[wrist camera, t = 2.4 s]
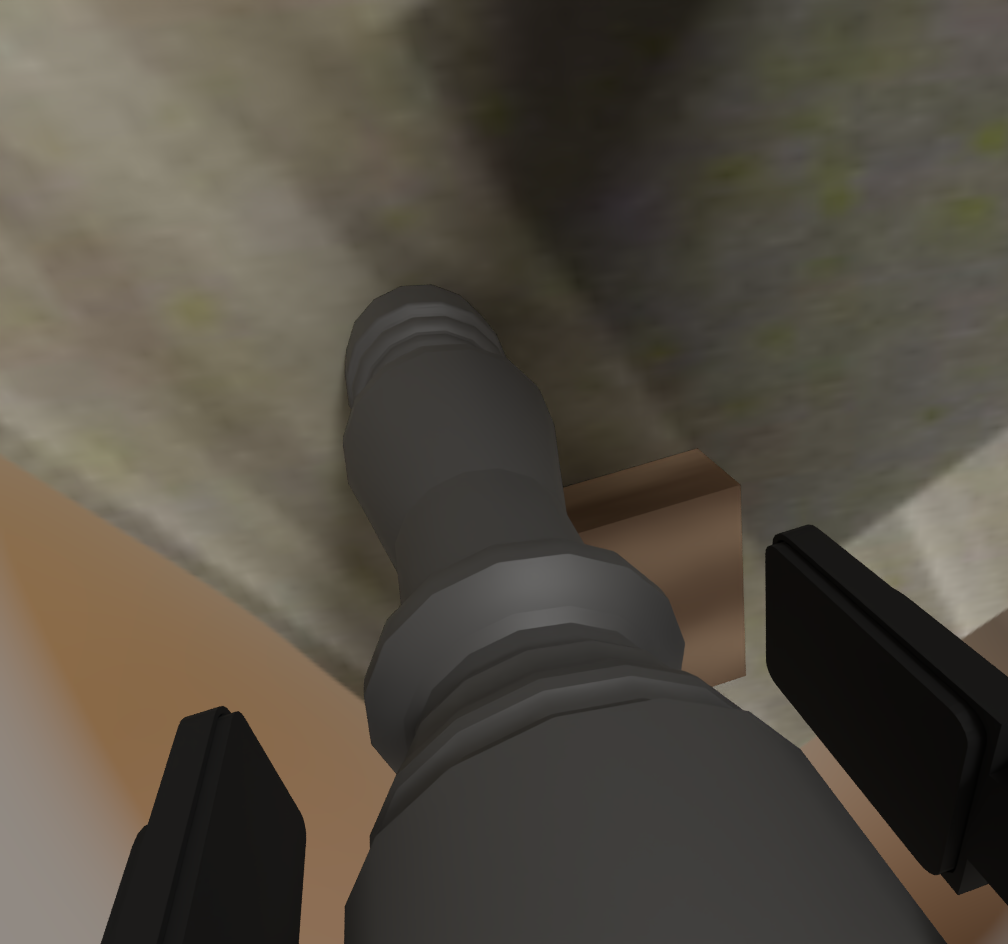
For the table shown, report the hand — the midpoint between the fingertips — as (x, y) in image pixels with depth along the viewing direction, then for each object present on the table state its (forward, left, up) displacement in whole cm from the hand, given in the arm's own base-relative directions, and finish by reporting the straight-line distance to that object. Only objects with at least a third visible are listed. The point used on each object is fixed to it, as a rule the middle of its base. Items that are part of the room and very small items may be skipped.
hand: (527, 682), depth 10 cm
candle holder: (0, 0, -19) cm, 19 cm away
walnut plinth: (+14, +6, -19) cm, 24 cm away
